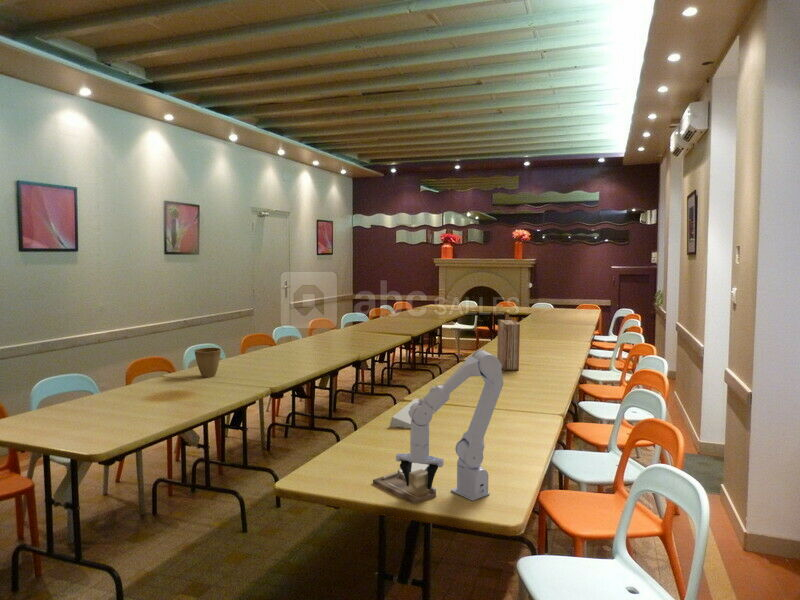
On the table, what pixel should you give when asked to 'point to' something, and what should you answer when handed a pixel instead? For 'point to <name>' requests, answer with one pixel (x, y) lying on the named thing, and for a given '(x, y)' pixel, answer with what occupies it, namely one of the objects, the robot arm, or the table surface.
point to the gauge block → (418, 482)
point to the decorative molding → (403, 416)
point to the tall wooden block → (508, 344)
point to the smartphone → (416, 467)
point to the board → (402, 488)
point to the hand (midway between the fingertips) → (419, 486)
